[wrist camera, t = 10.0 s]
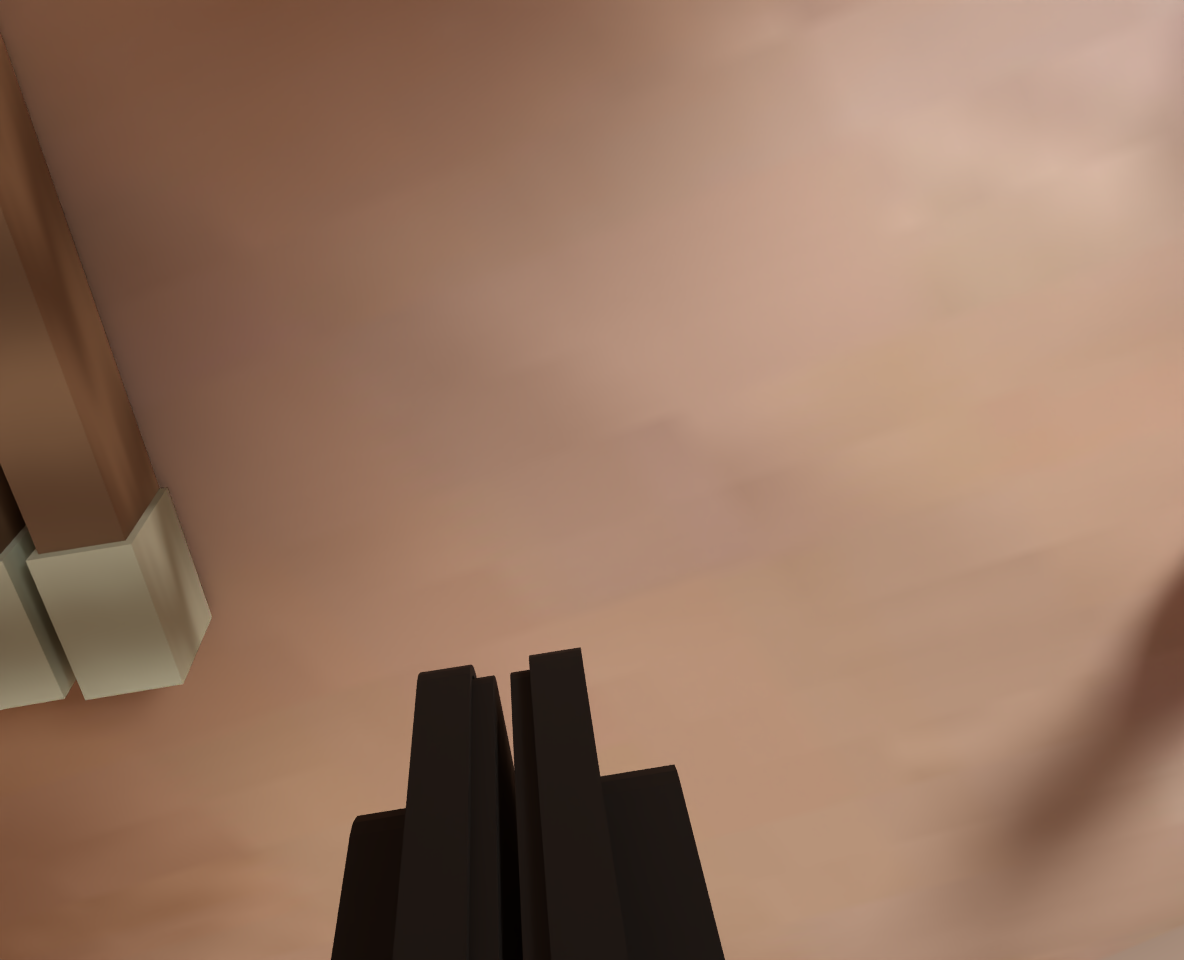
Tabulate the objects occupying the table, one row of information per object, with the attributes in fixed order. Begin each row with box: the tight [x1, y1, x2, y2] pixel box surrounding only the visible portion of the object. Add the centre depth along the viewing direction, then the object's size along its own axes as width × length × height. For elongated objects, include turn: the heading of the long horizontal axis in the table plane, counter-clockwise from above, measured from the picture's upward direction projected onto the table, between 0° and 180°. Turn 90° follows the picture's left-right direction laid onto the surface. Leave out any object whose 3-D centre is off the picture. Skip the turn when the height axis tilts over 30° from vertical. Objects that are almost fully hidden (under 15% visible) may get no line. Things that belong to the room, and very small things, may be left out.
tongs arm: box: [0, 33, 212, 700], centre depth 27 cm, size 26×3×4 cm, turn 7°
